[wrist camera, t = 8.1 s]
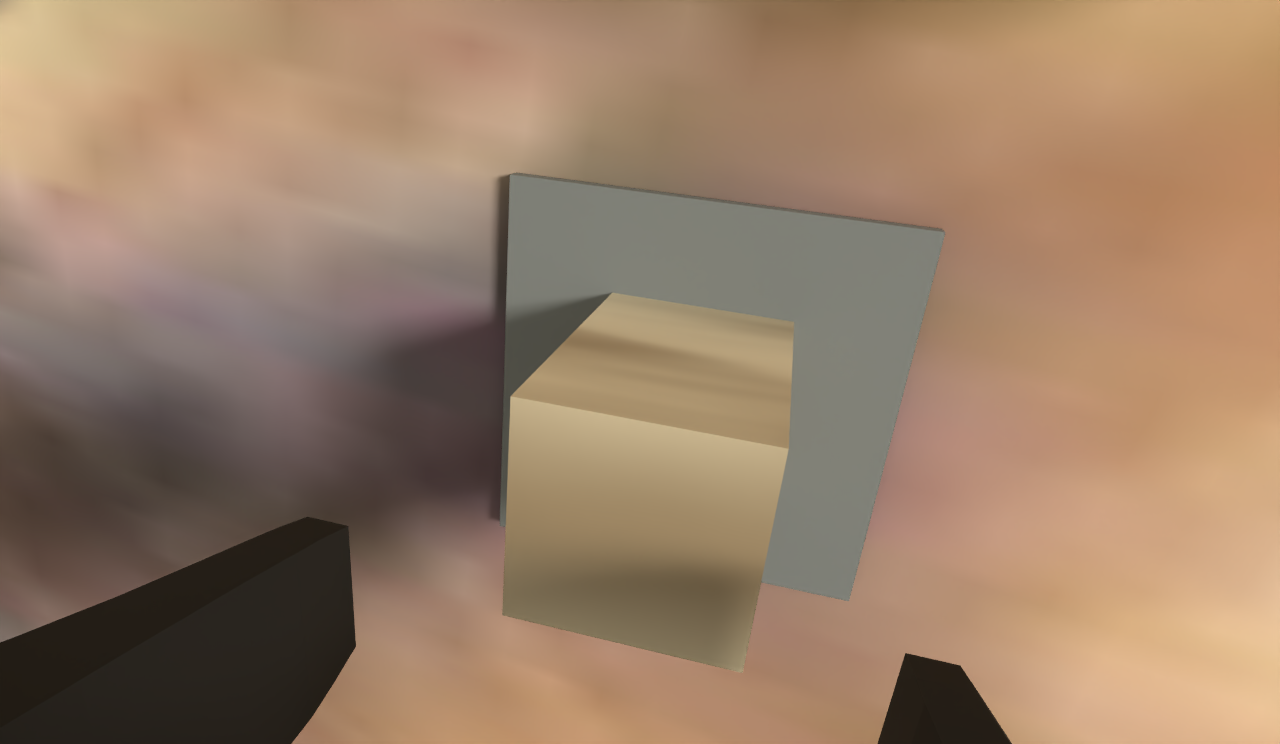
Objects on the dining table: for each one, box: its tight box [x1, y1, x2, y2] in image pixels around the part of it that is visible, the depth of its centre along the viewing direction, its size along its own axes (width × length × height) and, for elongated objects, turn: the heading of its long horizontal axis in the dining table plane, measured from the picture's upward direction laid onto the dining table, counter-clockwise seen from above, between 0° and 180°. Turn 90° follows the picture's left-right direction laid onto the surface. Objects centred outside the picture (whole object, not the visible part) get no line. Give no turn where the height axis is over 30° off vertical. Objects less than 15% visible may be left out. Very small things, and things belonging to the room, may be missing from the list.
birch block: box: [502, 293, 794, 673], centre depth 13 cm, size 4×4×6 cm
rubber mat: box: [500, 173, 945, 601], centre depth 16 cm, size 9×9×1 cm
